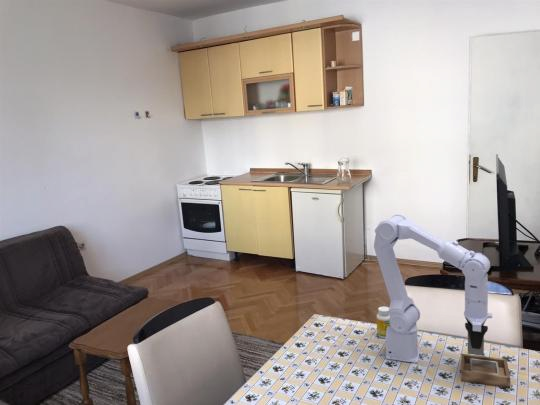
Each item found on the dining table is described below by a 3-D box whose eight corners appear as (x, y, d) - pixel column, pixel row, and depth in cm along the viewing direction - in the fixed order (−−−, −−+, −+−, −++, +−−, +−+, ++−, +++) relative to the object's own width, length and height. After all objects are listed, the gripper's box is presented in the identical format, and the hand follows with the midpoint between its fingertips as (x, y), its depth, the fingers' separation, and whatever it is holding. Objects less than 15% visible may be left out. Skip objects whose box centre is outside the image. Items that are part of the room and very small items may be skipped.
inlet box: (461, 381, 125) (461, 371, 124) (461, 362, 134) (461, 353, 133) (510, 388, 120) (510, 378, 119) (506, 368, 129) (506, 359, 128)
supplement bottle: (384, 329, 157) (383, 304, 156) (396, 335, 153) (395, 308, 151) (373, 334, 154) (372, 308, 153) (385, 340, 150) (384, 313, 148)
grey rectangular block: (467, 353, 125) (467, 333, 124) (467, 346, 128) (467, 327, 127) (483, 355, 123) (483, 335, 122) (483, 348, 127) (483, 328, 126)
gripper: (494, 310, 115) (493, 359, 117) (490, 289, 128) (490, 334, 130) (464, 307, 117) (464, 355, 120) (463, 287, 131) (463, 331, 133)
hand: (475, 344), depth 125 cm, fingers closed on grey rectangular block, 4 cm apart
